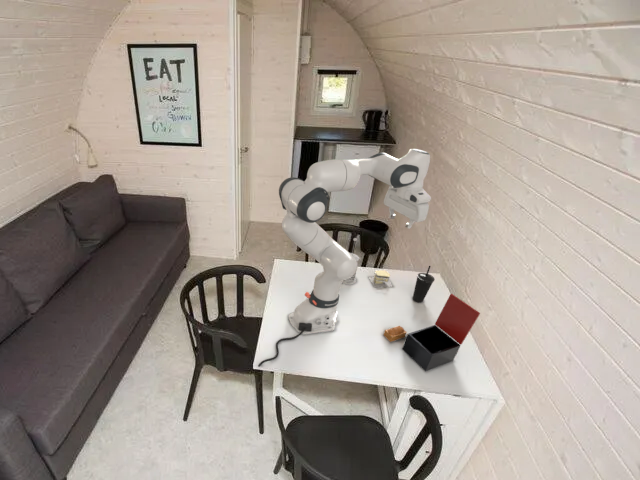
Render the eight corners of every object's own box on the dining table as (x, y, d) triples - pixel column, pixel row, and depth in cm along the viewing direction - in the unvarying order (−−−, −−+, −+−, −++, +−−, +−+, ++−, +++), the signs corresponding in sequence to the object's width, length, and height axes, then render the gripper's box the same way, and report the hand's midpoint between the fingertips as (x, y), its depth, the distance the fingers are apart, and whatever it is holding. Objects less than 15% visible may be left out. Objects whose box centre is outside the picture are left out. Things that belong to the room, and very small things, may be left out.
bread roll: (390, 342, 151) (393, 334, 149) (383, 335, 155) (385, 327, 152) (405, 337, 154) (407, 329, 151) (397, 330, 157) (400, 323, 155)
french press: (358, 284, 186) (368, 243, 172) (336, 284, 186) (344, 243, 172) (353, 273, 194) (362, 233, 181) (332, 274, 194) (339, 233, 180)
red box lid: (479, 313, 130) (480, 313, 130) (450, 293, 139) (451, 293, 140) (460, 344, 137) (461, 344, 138) (434, 324, 147) (435, 323, 147)
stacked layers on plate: (374, 287, 184) (376, 278, 181) (368, 277, 192) (370, 268, 189) (393, 286, 184) (395, 278, 181) (386, 277, 192) (389, 268, 189)
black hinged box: (425, 371, 138) (432, 355, 133) (402, 349, 148) (407, 333, 143) (453, 360, 143) (460, 345, 138) (428, 339, 152) (434, 324, 148)
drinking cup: (419, 306, 171) (432, 272, 160) (406, 298, 177) (417, 264, 166) (429, 301, 175) (442, 267, 164) (415, 293, 180) (427, 260, 169)
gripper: (384, 183, 147) (376, 214, 155) (422, 201, 131) (412, 234, 139) (396, 181, 149) (388, 212, 157) (435, 199, 133) (424, 232, 141)
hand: (399, 222), depth 147 cm, fingers open, 8 cm apart
